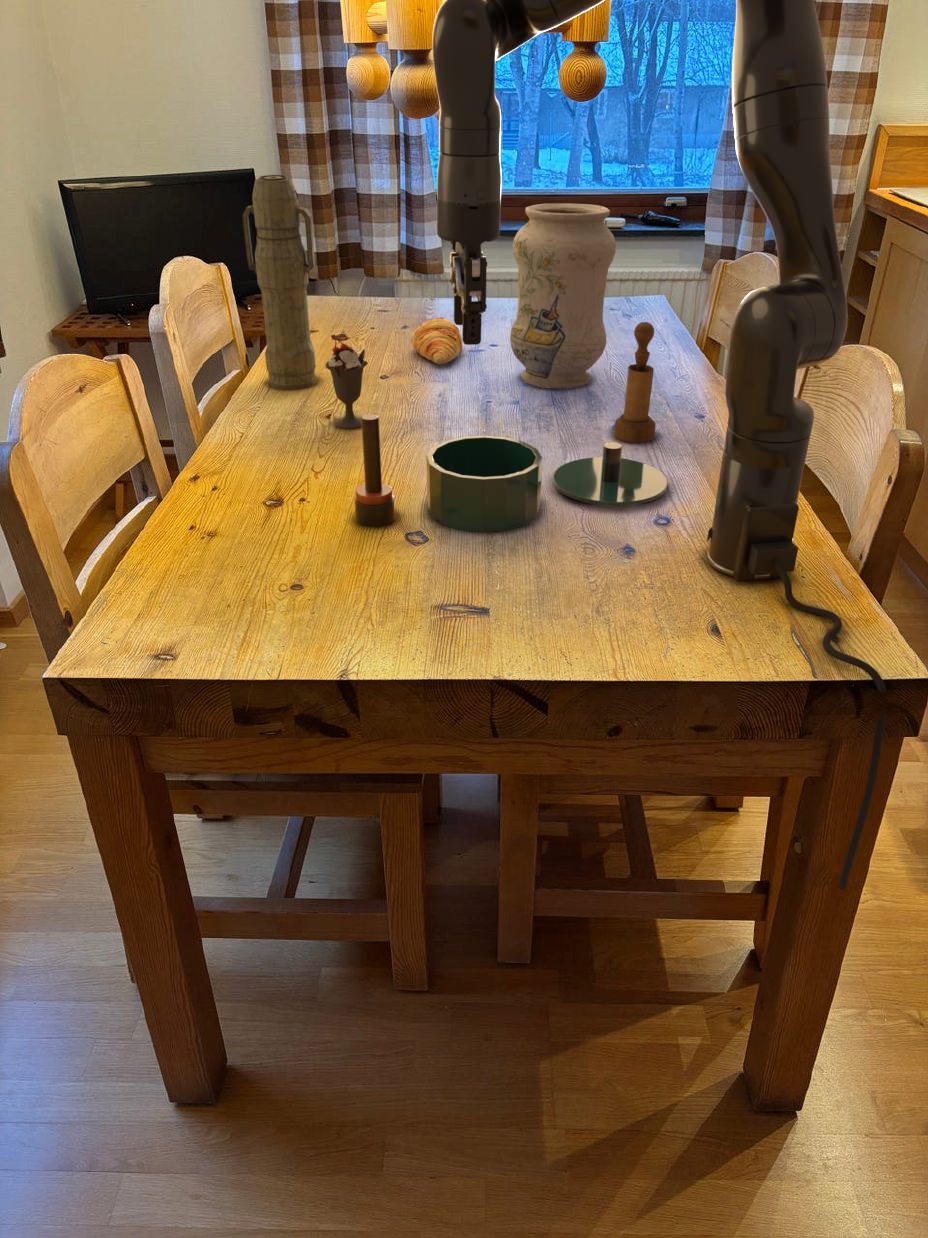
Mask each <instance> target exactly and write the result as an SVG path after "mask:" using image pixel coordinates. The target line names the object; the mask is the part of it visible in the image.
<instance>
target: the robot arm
mask: <svg viewBox="0 0 928 1238" xmlns="http://www.w3.org/2000/svg"><path fill="white" fill-rule="evenodd" d="M604 1H605V0H444V1H443V2H442V3H441V4H440V6H439V8H438V10H437V12H436V14H435V16H434V17H435V18H434V22H433V27H432V47H431V48H432V60H433V70H434V78H435V85H436V94H437V97H438V103H439V118H438V120H439V121H438V151H439V152H438V164H437V172H436V234H437V236H438V238H439V239H441V240H443V241H446V242H449V243H450V247H451V248H450V249H451V250H450V251H451V252H450V254H449V263H450V272H449V274H450V275H449V276H450V278H449V279H450V280H449V282H450V284H451V291H452V294H453V322H454V324H455V325H456V326H462V329H461V330H462V335H461V338H462V344H464V345H467V346H470V345H475V346H476V345H479V344H481V342H482V317H483V315H482V314H484V313H485V312H486V310H487V307H488V305H487V267H488V261H487V256H484V253H483V251H482V244H484V243H485V242H489V243H490V242H493V241H495V240H497V239H498V238H499V237H500V234H501V211H502V210H501V209H502V207H501V206H502V166H501V165H502V164H501V140H502V138H501V137H502V131H501V130H502V113H501V106H500V102H499V100H498V99H497V97H496V61H499V60H501V58H503V57H505V56H507V55H509V54H510V53H511V52H514V51H515V50H516V49H518V48H519V47H521V46H522V45H524V44H525V43H527V42H529V41H530V40H532V39H533V38H535V37H537V36H538V35H539V34H541V33H544V32H548V31H549V30H552V29H554V28H557V27H558V26H560V25H563V24H564V23H566V22H569V21H570V20H572V19H574V18H577V16H580V15H581V14H584V13H585V12H588V11H589V10H591V9H593V8H595V7H596V6H598V5H600V4H601V3H603V2H604ZM733 39H734V40H733V49H732V65H731V66H732V67H731V69H732V70H731V103H732V114H733V128H734V129H733V130H734V142H735V152H736V157H737V160H738V161H737V162H738V164H739V167H740V170H741V172H742V174H743V177H744V179H745V181H746V183H747V185H748V187H749V189H750V190H751V192H752V194H753V196H754V197H755V199H756V201H757V202H758V204H759V206H760V208H761V210H762V211H763V213H764V216H765V217H766V219H767V221H768V223H769V226H770V228H771V231H772V234H773V237H774V241H775V247H776V252H777V253H776V254H777V262H778V280H779V282H778V283H777V284H772V285H767V286H762V287H758V288H756V289H753V290H752V291H750V292H748V294H747V295H745V297H743V299H742V300H741V302H740V304H739V305H738V307H737V309H736V312H735V314H734V317H733V321H732V325H731V329H730V337H729V344H728V345H729V347H728V357H727V369H726V380H725V402H726V406H727V411H728V418H727V419H728V420H727V424H726V425H727V426H726V432H725V438H724V446H723V451H722V456H721V457H722V459H721V465H720V471H719V478H718V484H717V491H716V497H715V504H714V505H715V506H714V512H713V518H712V525H711V527H710V528H709V530H708V532H707V538H706V543H708V542H709V546H708V549H707V553H706V559H707V562H708V563H709V565H710V566H711V567H712V568H713V569H715V570H717V571H719V573H722V574H725V575H728V576H731V577H733V578H734V579H735V581H737V582H742V581H743V582H744V581H751V580H752V581H755V580H767V579H779V578H780V579H781V581H782V583H783V587H784V595H785V598H786V601H787V602H788V603H789V604H790V605H791V606H792V607H793V608H795V609H796V610H799V611H801V612H803V613H808V614H810V615H815V616H819V617H824V618H827V619H829V620H830V621H832V623H833V625H832V627H831V628H830V629H829V631H827V632H826V633H825V634H824V636H823V638H822V641H821V643H822V647H823V649H824V651H825V652H826V653H827V654H828V655H829V656H831V657H832V658H834V659H836V660H839V661H841V662H843V663H846V664H849V665H852V666H853V667H857V668H858V669H860V670H863V671H864V672H865V673H866V674H868V675H869V677H870V678H871V679H872V682H874V685H875V686H876V689H877V690H878V692H880V693H882V694H886V693H887V692H888V690H887V686H886V684H885V681H884V680H883V678H882V676H881V675H880V673H879V672H878V671H877V670H876V669H875V668H874V667H873V666H872V665H871V664H870V663H867V662H866V661H864V660H862V659H860V658H858V657H855V656H852V655H850V654H846V653H844V652H841V651H839V650H837V649H836V648H834V646H833V645H832V644H831V643H832V639H834V637H836V636H837V635H838V633H839V632H840V631H841V629H842V627H843V622H842V620H841V618H840V616H839V615H837V613H835V612H832V611H830V610H828V609H824V608H819V607H814V606H811V605H810V606H809V605H807V604H804V603H801V602H800V601H798V600H797V599H796V598H795V596H794V594H793V586H792V581H791V579H790V577H789V575H788V573H794V571H795V566H796V562H797V556H798V551H799V547H798V546H797V545H796V544H795V543H794V534H795V530H796V524H797V519H798V515H799V509H800V506H799V504H798V500H799V494H800V490H801V485H802V480H803V474H804V469H805V464H806V459H807V456H808V455H807V454H808V449H809V445H810V439H811V435H812V430H813V425H814V421H815V420H814V419H815V412H814V408H813V407H812V406H811V405H810V404H809V403H808V402H807V401H805V400H804V399H801V398H799V397H795V387H796V380H797V370H801V369H802V370H803V369H807V368H810V367H813V366H817V365H821V364H823V363H826V362H827V361H829V360H831V359H832V358H834V356H835V355H836V354H837V353H838V351H840V350H841V347H842V345H843V343H844V341H845V337H846V335H847V334H846V333H847V328H848V317H849V316H848V302H847V301H848V300H847V294H846V293H847V292H846V287H845V281H844V275H843V268H842V261H841V256H840V249H839V248H840V247H839V242H838V236H837V235H838V234H837V227H836V218H835V207H834V206H835V205H834V192H833V190H834V189H833V177H832V176H833V175H832V163H831V149H830V148H831V147H830V146H831V145H830V144H831V143H830V107H829V105H830V103H829V88H828V85H829V84H828V75H827V74H828V73H827V65H826V57H825V50H824V43H823V37H822V32H821V27H820V21H819V17H818V13H817V8H816V4H815V0H735V25H734V37H733ZM474 296H475V297H477V300H473V297H474ZM886 720H887V713H884V714H878V715H877V717H876V722H875V727H874V734H873V741H872V749H871V756H870V757H871V758H870V762H869V768H868V774H867V779H866V784H865V789H864V794H863V797H862V801H861V805H860V808H859V812H858V815H857V819H856V821H855V822H856V823H855V826H854V829H853V832H852V836H851V839H850V842H849V846H848V848H847V853H846V855H845V859H844V863H843V867H842V871H841V874H840V878H839V882H838V886H837V887H838V888H839V889H840V890H846V889H847V886H848V885H847V884H848V881H849V876H850V873H851V870H852V866H853V863H854V859H855V856H856V852H857V849H858V846H859V843H860V839H861V836H862V833H863V829H864V826H865V823H866V820H867V816H868V812H869V809H870V806H871V802H872V797H873V793H874V789H875V784H876V780H877V776H878V771H879V770H878V769H879V765H880V758H881V751H882V743H883V738H884V737H883V736H884V730H885V724H886Z"/></svg>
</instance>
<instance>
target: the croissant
mask: <svg viewBox="0 0 928 1238" xmlns="http://www.w3.org/2000/svg"><path fill="white" fill-rule="evenodd" d="M410 342H411V346H412V347H413V348H414V349H415V351H416V353H418V354H419V355H420V356H422V357H424V358H426V359H427V360H429V361H431V362H433V363H434V364H437V365H444V364H447V363H450V362H451V361H453V360H454V359H456V358H457V357H458V356H459V355H461V354H462V353H463V340H462V335H461V331H460V329H459V327H458V326H457V325H456V324H455V322H454V323H453V321H451V320H448V319H446V318H444V317H435V318H431V319H428V320H425V321H424V322H422V323H421V324H420V325H419V326H418V327H416V328H415V330H414V331H413V333H412V334H411V337H410Z"/></svg>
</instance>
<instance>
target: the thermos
mask: <svg viewBox="0 0 928 1238" xmlns="http://www.w3.org/2000/svg"><path fill="white" fill-rule="evenodd" d="M250 213H251V215H252V214H253V217H254V226H255V229H256V234H257V235H256V238H255V239H256V246H255V251H254V256H253V246H252V245H253V244H252V240H251V239H252V237H251V227H250V220H249V219H250V218H249V215H250ZM300 214H301V215H302V217H303V218H304V225H305V238H306V249H305V246H304V243H303V240H302V234H301V232H300V231H301V230H300V226H301V217H300ZM241 217H242V226H243V233H244V243H245V252H246V253H245V254H246V260H247V265H248V270H249V271H254V274H256V280H257V285H258V287H259V289H260V292H261V300H262V311H263V319H264V328H265V337H266V347H265V352H264V357H265V367H266V371H267V372H268V384H269V386H270V387H272V388H273V389H274V388H275V389H280V390H300V389H301V390H302V389H305V388H309V387H311V386H314V385H315V384H316V383H317V377H316V367H317V365H316V354H315V351H316V350H315V349H314V344H313V342H312V340H311V330H310V329H311V328H310V317H309V306H308V305H309V304H308V292H307V289H308V285H309V272H311V271H312V270H313V269H314V267H315V266H316V259H315V245H314V244H315V243H314V223H313V220H314V219H313V215H312V214H311V212H310V211H309V209H308V208H307V207H304V206H301V205H300V204H299V195H298V192H297V189H296V187H295V184H294V181H293V179H292V178H291V177H288V175H283V174H267V175H260V176H259V177H258V178H255V180H254V185H253V189H252V205H248V206H246V207H245V209H244V211H243V213H242V215H241ZM306 250H307V251H306ZM254 260H255V263H254Z"/></svg>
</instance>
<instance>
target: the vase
mask: <svg viewBox="0 0 928 1238" xmlns="http://www.w3.org/2000/svg"><path fill="white" fill-rule="evenodd" d="M610 212H611V210H610V209H608V208H607V207H605V206H602V205H598V204H589V203H588V204H586V203H540V204H539V203H538V204H533V205H530V206H526V207H525V215H526V216H527V217H528V222H527V223H526V224H524V225H523V226H522V227H521V228H520V229H519V230H518V231H517V232H516V234H515V236H514V238H513V243H512V252H513V253H512V254H513V256H514V258H515V261H516V263H517V269H518V271H517V273H518V274H517V292H518V293H517V311H516V318H515V320H514V321H513V323H512V326H511V330H510V337H509V342H510V347H511V350H512V353H513V355H514V356H515V358H516V359H517V361H518V362H520V364H522V366H523V367H524V368H525V369H524V371H523V372H521V379H522V380H523V381H524V383H526V384H529V385H531V386H534V387H538V388H539V387H540V388H544V389H551V390H552V389H553V390H559V389H560V390H564V389H565V390H566V389H573V388H578V387H583V386H585V385H587V384H588V383H589V382H590V380H591V375H590V374H589V373H588V372H587V371H588V370H589V369H591V368H592V367H593V366H594V365H595V364H596V363H597V362H598V360H600V358H601V357H602V355H603V354H604V351H605V350H606V347H607V332H606V328H605V324H604V302H605V294H606V291H607V290H606V289H607V281H608V275H609V268H610V267H611V265H612V263H613V261H614V258H615V255H616V250H617V249H616V247H617V246H616V239H615V236H614V234H613V233H612V231H611V230H610V229H609V227H607V226H606V224H605V220H606V219H607V218H608V217H609V216H610Z"/></svg>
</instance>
